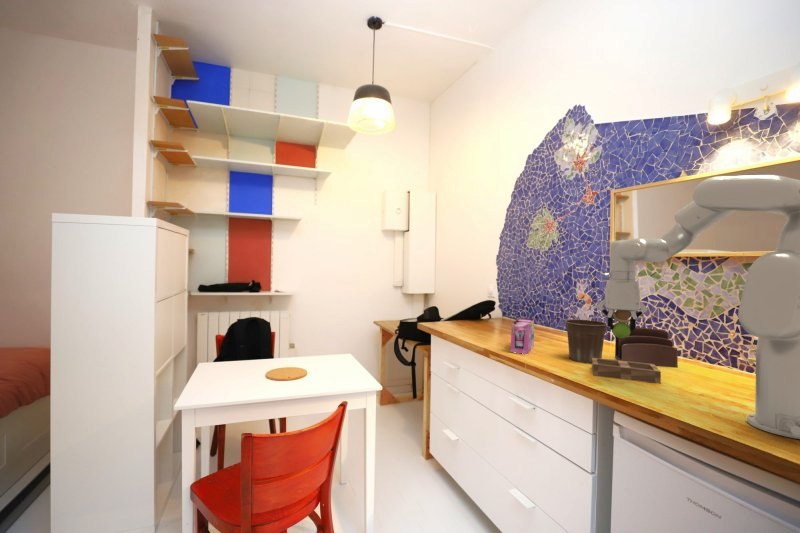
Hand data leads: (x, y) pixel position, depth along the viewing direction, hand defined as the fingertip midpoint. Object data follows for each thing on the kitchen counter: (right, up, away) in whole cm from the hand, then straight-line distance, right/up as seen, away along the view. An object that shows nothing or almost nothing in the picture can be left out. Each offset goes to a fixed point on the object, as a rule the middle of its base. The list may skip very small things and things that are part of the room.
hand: (621, 329), depth 126 cm
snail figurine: (-1, -3, 0) cm, 3 cm away
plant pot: (+3, -18, +30) cm, 35 cm away
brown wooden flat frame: (+5, -18, +8) cm, 20 cm away
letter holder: (+26, -19, +28) cm, 43 cm away
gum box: (-17, -18, +49) cm, 55 cm away
